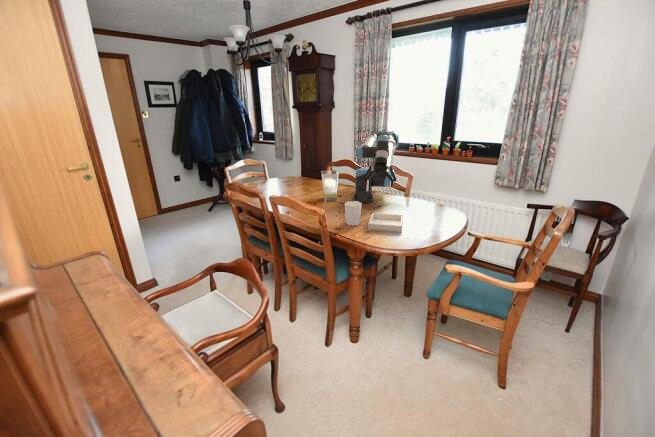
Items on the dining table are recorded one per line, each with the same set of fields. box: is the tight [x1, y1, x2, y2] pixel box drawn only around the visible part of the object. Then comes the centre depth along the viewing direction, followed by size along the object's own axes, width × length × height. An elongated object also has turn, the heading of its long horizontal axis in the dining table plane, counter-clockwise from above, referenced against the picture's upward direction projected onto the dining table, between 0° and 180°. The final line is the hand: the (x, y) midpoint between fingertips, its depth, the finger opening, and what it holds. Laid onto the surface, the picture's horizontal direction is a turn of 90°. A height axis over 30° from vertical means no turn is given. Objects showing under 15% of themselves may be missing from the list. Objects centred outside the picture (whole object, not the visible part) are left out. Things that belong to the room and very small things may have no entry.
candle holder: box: [344, 200, 363, 227], centre depth 178 cm, size 10×10×12 cm
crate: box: [367, 212, 404, 234], centre depth 175 cm, size 18×18×4 cm
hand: (378, 191), depth 186 cm, fingers open, 13 cm apart
